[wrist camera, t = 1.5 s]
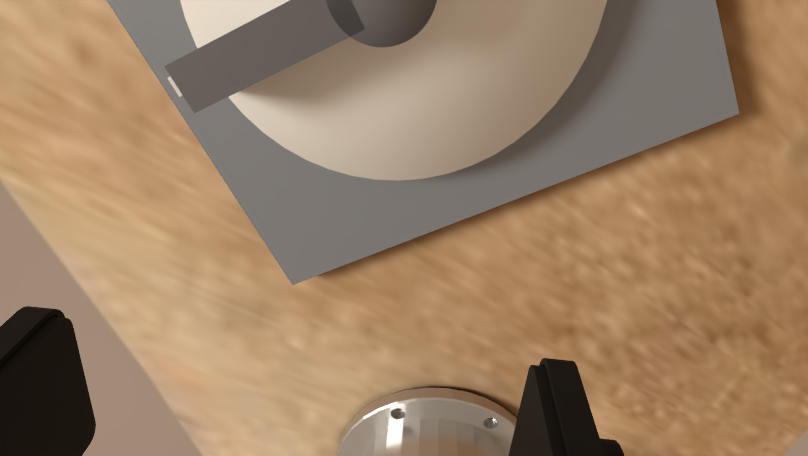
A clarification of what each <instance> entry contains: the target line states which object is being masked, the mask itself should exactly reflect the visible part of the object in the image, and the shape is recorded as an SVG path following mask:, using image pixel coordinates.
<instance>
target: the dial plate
mask: <svg viewBox="0 0 808 456" xmlns="http://www.w3.org/2000/svg"><path fill="white" fill-rule="evenodd" d="M107 2H108V3H109V5H110V6H111V8H112V9H113V11H114V12H115V14H116V15H117V17H118V18H119V20H120V21H121V23H122V25H123V26H124V28H125V29H126V31H127V32H128V34H129V35H130V37H131V38H132V40H133V41H134V43H135V44H136V46H137V48H138V49H139V51H140V52H141V54H142V55H143V57H144V58H145V60H146V61H147V63H148V64H149V66H150V67H151V69H152V70H153V72H154V74H155V75H156V77H157V78H158V80H159V81H160V83H161V84H162V86H163V87H164V89H165V90H166V92H167V93H168V95H169V97H170V98H171V100H172V101H173V103H174V104H175V106H176V107H177V109H178V110H179V112H180V113H181V115H182V116H183V118H184V120H185V121H186V123H187V124H188V126H189V127H190V129H191V130H192V132H193V133H194V135H195V136H196V138H197V139H198V141H199V142H200V144H201V146H202V147H203V149H204V150H205V152H206V153H207V155H208V156H209V158H210V159H211V161H212V162H213V164H214V165H215V167H216V169H217V170H218V172H219V173H220V175H221V176H222V178H223V179H224V181H225V182H226V184H227V185H228V187H229V188H230V190H231V191H232V193H233V195H234V196H235V198H236V199H237V201H238V202H239V204H240V205H241V207H242V208H243V210H244V211H245V213H246V214H247V216H248V218H249V219H250V221H251V222H252V224H253V225H254V227H255V228H256V230H257V231H258V233H259V234H260V236H261V237H262V239H263V240H264V242H265V244H266V245H267V247H268V248H269V250H270V251H271V253H272V254H273V256H274V257H275V259H276V260H277V262H278V263H279V265H280V267H281V268H282V270H283V271H284V273H285V274H286V276H287V277H288V279H289V280H290V282H291V283H292V285H294V284H296V283H299V282H302V281H304V280H307V279H309V278H312V277H315V276H317V275H320V274H323V273H325V272H328V271H330V270H333V269H336V268H338V267H341V266H343V265H346V264H349V263H351V262H354V261H356V260H359V259H362V258H364V257H367V256H370V255H372V254H375V253H377V252H380V251H383V250H385V249H388V248H390V247H393V246H396V245H398V244H401V243H403V242H406V241H409V240H411V239H414V238H416V237H419V236H422V235H424V234H427V233H430V232H432V231H435V230H437V229H440V228H443V227H445V226H448V225H450V224H453V223H456V222H458V221H461V220H463V219H466V218H469V217H471V216H474V215H477V214H479V213H482V212H484V211H487V210H490V209H492V208H495V207H497V206H500V205H503V204H505V203H508V202H510V201H513V200H516V199H518V198H521V197H523V196H526V195H529V194H531V193H534V192H537V191H539V190H542V189H544V188H547V187H550V186H552V185H555V184H557V183H560V182H563V181H565V180H568V179H570V178H573V177H576V176H578V175H581V174H584V173H586V172H589V171H591V170H594V169H597V168H599V167H602V166H604V165H607V164H610V163H612V162H615V161H617V160H620V159H623V158H625V157H628V156H630V155H633V154H636V153H638V152H641V151H644V150H646V149H649V148H651V147H654V146H657V145H659V144H662V143H664V142H667V141H670V140H672V139H675V138H677V137H680V136H683V135H685V134H688V133H690V132H693V131H696V130H698V129H701V128H704V127H706V126H709V125H711V124H714V123H717V122H719V121H722V120H724V119H727V118H730V117H732V116H735V115H737V114H740V113H739V109H738V104H737V99H736V94H735V90H734V85H733V80H732V75H731V71H730V66H729V61H728V56H727V52H726V47H725V42H724V37H723V33H722V28H721V23H720V18H719V14H718V9H717V4H716V0H607V2H606V6H605V9H604V13H603V16H602V19H601V23H600V26H599V29H598V32H597V34H596V36H595V39H594V41H593V43H592V46H591V48H590V50H589V52H588V55H587V57H586V59H585V61H584V62H583V64H582V66H581V67H580V69H579V71H578V73H577V74H576V76H575V78H574V80H573V81H572V83H571V84H570V85H569V87H568V88H567V89H566V91H565V92H564V93H563V95H562V96H561V97H560V99H559V100H558V101H557V103H556V104H555V105H554V106H553V107H552V108H551V109H550V110H549V112H548V113H547V114H546V115H545V116H544V117H543V118H542V119H541V120H540V121H539V122H538V123H537V124H536V125H535V126H534V127H532V128H531V129H530V130H529V131H528V132H526V133H525V134H524V135H523V136H521V137H520V138H519V139H518V140H517V141H515V142H514V143H512V144H511V145H509V146H507V147H506V148H504V149H503V150H501V151H500V152H498V153H496V154H495V155H493V156H491V157H489V158H487V159H485V160H483V161H480V162H478V163H476V164H474V165H472V166H469V167H466V168H464V169H461V170H458V171H455V172H452V173H449V174H444V175H439V176H435V177H430V178H425V179H414V180H402V181H395V180H374V179H368V178H362V177H356V176H350V175H347V174H343V173H340V172H336V171H333V170H329V169H327V168H324V167H322V166H320V165H317V164H315V163H312V162H310V161H308V160H305V159H303V158H302V157H300V156H298V155H296V154H295V153H293V152H291V151H289V150H288V149H286V148H284V147H282V146H281V145H280V144H278V143H277V142H276V141H274V140H273V139H271V138H270V137H269V136H267V135H266V134H265V133H263V132H262V131H261V130H260V129H259V128H258V127H257V126H255V125H254V124H253V123H252V122H251V121H250V120H249V119H248V118H247V117H246V116H245V115H243V114H242V112H241V111H240V110H239V109H238V108H237V107H236V105H235V104H234V103H233V102H232V101H231V100H230V99H229V97H227V98H225V99H223V100H221V101H219V102H217V103H215V104H213V105H211V106H209V107H207V108H204V109H202V110H200V111H198V112H196V113H194V112H193V111H192V109H191V108H190V106H189V104H188V103H187V101H186V100H185V98H184V97H183V95H182V94H181V92H180V90H179V89H178V87H177V86H176V84H175V83H174V81H173V80H172V78H171V76H170V75H169V73H168V72H167V70H166V69H165V67H164V66H166V65H168V64H169V63H171V62H173V61H175V60H177V59H179V58H181V57H183V56H185V55H187V54H189V53H190V52H192V51H194V50H196V49H198V48H197V47H196V44H195V42H194V39H193V37H192V34H191V32H190V29H189V27H188V24H187V22H186V19H185V16H184V13H183V9H182V5H181V2H180V0H107Z"/></svg>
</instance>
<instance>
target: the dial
mask: <svg viewBox="0 0 808 456" xmlns="http://www.w3.org/2000/svg"><path fill="white" fill-rule="evenodd" d="M180 2H181V5H182V9H183V13H184V16H185V19H186V22H187V24H188V27H189V29H190V32H191V34H192V37H193V39H194V42H195V44H196V47H197V48H198V49H196V50H194V51H192V52H190V53H189V54H187V55H185V56H183V57H181V58H179V59H177V60H175V61H173V62H171V63H169V64H168V65H166V66H164V67H165V69H166V70H167V72H168V73H169V75H170V76H171V78H172V80H173V81H174V83H175V84H176V86H177V87H178V89H179V90H180V92H181V94H182V95H183V97H184V98H185V100H186V101H187V103H188V104H189V106H190V108H191V109H192V111H193V112H194V113H196V112H198V111H200V110H202V109H204V108H207V107H209V106H211V105H213V104H215V103H217V102H219V101H221V100H223V99H225V98H227V97H229V99H230V100H231V101H232V102H233V103H234V104H235V105H236V107H237V108H238V109H239V110H240V111H241V112H242V114H243V115H245V116H246V117H247V118H248V119H249V120H250V121H251V122H252V123H253V124H254V125H255V126H257V127H258V128H259V129H260V130H261V131H262V132H263V133H265V134H266V135H267V136H269V137H270V138H271V139H273V140H274V141H276V142H277V143H278V144H280V145H281V146H282V147H284V148H286V149H288V150H289V151H291V152H293V153H295V154H296V155H298V156H300V157H302V158H303V159H305V160H308V161H310V162H312V163H315V164H317V165H320V166H322V167H324V168H327V169H329V170H333V171H336V172H340V173H343V174H347V175H350V176H356V177H362V178H368V179H374V180H395V181H402V180H414V179H425V178H430V177H435V176H439V175H444V174H449V173H452V172H455V171H458V170H461V169H464V168H466V167H469V166H472V165H474V164H476V163H478V162H480V161H483V160H485V159H487V158H489V157H491V156H493V155H495V154H496V153H498V152H500V151H501V150H503V149H504V148H506V147H507V146H509V145H511V144H512V143H514V142H515V141H517V140H518V139H519V138H520V137H521V136H523V135H524V134H525V133H526V132H528V131H529V130H530V129H531V128H532V127H534V126H535V125H536V124H537V123H538V122H539V121H540V120H541V119H542V118H543V117H544V116H545V115H546V114H547V113H548V112H549V110H550V109H551V108H552V107H553V106H554V105H555V104H556V103H557V101H558V100H559V99H560V97H561V96H562V95H563V93H564V92H565V91H566V89H567V88H568V87H569V85H570V84H571V83H572V81H573V80H574V78H575V76H576V74H577V73H578V71H579V69H580V67H581V66H582V64H583V62H584V61H585V59H586V57H587V55H588V52H589V50H590V48H591V46H592V43H593V41H594V39H595V36H596V34H597V32H598V29H599V26H600V23H601V19H602V16H603V13H604V9H605V6H606V2H607V0H180Z"/></svg>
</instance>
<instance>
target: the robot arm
mask: <svg viewBox="0 0 808 456" xmlns="http://www.w3.org/2000/svg"><path fill="white" fill-rule="evenodd" d="M95 427H96V424H95V418H94V414H93V409H92V405H91V401H90V397H89V392H88V388H87V384H86V379H85V375H84V371H83V367H82V363H81V358H80V354H79V350H78V345H77V341H76V337H75V332H74V328H73V325H72V322H71V321H70V320H69V319H67V318H65V316H64V314H63V313H62V312H61V311H60V310H57V309H49V308H38V307H29V306H28V307H23V308H21V309H20V310H18V311H17V312H16V313H15V314H14V315H13V316H12V317H11V318H9V320H7V321H6V322H5V323H4V324H3V325H2V326H1V327H0V456H82V455H83V453H84V452H85V450H86V449H87V447H88V446H89V444H90V443H91V441H92V439H93V436H94V433H95ZM337 456H624V453H623V451H622V449H621V447H620V445H619V444H618V443H617V441H616V440H609V439H600V438H599V435H598V432H597V429H596V425H595V422H594V419H593V416H592V413H591V410H590V406H589V403H588V400H587V397H586V394H585V390H584V387H583V384H582V381H581V378H580V375H579V371H578V368H577V366H576V363H575V362H574V361H567V360H557V359H547V358H543V359H542V360H541V362H540V365H539V366H536V365H531V366H530V368H529V371H528V375H527V380H526V384H525V388H524V392H523V396H522V400H521V405H520V409H519V413H518V417H517V418H516V417H515V416H513V415H512V414H511V413H510V412H508V411H507V410H506V409H504V408H503V407H502V406H500V405H498V404H496V403H494V402H492V401H490V400H489V399H487V398H484V397H481V396H478V395H475V394H472V393H469V392H466V391H460V390H455V389H449V388H419V389H410V390H405V391H401V392H397V393H394V394H390V395H387V396H385V397H383V398H381V399H378V400H376V401H374V402H372V403H371V404H369V405H368V406H366V407H365V408H363V409H362V410H361V411H359V412H358V413H357V414H356V415H355V416H354V417H353V418H352V420H351V421H350V422H349V423H348V424H347V426H346V428H345V430H344V432H343V433H342V435H341V439H340V443H339V447H338V451H337Z"/></svg>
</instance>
